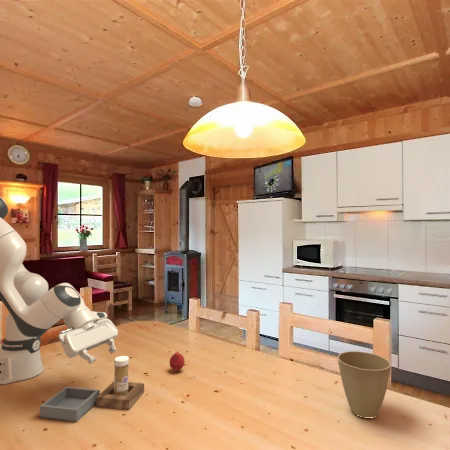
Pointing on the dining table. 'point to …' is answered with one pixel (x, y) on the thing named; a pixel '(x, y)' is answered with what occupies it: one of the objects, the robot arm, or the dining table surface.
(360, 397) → the plant pot
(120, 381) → the sprinkles bottle
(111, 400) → the collar block
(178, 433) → the dining table surface
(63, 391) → the tray
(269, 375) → the dining table surface
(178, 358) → the onion
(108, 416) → the dining table surface
